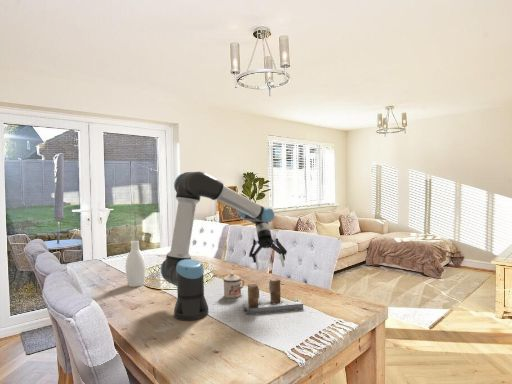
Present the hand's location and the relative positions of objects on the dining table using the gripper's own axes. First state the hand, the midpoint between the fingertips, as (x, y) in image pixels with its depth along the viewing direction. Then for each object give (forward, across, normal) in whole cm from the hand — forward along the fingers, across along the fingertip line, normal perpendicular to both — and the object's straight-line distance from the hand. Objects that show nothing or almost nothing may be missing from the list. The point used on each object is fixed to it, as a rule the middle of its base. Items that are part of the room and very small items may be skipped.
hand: (270, 266), depth 171 cm
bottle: (-16, +72, -37) cm, 82 cm away
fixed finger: (+22, +12, +1) cm, 25 cm away
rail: (+23, +3, +3) cm, 24 cm away
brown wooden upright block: (+18, 0, -3) cm, 18 cm away
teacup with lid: (+7, +18, -14) cm, 24 cm away
